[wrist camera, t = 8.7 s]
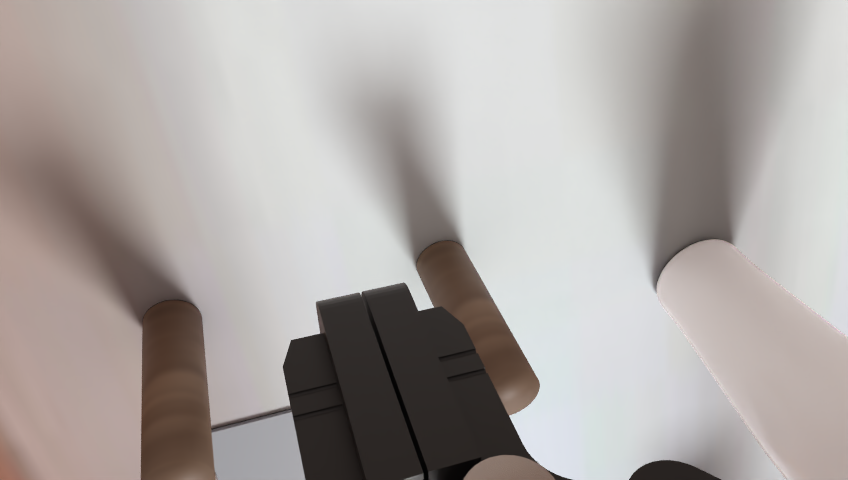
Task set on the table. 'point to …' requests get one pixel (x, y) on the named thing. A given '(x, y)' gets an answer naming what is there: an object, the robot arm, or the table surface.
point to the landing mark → (258, 449)
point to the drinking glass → (765, 356)
